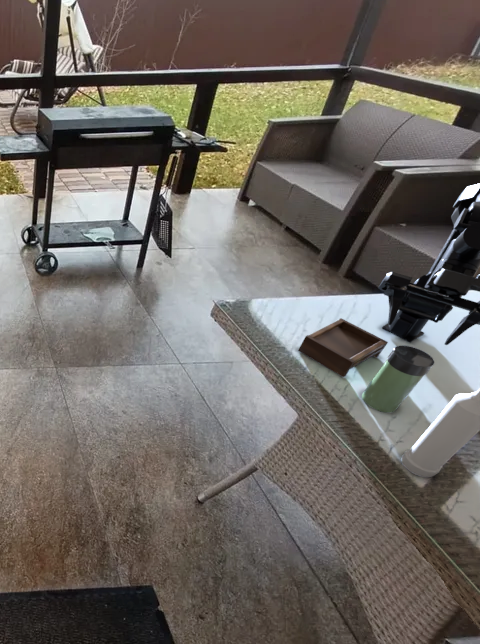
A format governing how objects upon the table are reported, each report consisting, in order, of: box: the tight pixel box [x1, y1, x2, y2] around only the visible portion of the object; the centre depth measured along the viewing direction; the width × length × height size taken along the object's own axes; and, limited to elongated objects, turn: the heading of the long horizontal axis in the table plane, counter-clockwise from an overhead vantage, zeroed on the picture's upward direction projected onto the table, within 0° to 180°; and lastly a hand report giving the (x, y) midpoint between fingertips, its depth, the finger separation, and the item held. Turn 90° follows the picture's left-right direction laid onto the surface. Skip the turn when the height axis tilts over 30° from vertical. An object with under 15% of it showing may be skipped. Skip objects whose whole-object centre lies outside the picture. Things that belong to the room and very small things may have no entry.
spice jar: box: [361, 344, 435, 414], centre depth 94 cm, size 6×6×13 cm
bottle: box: [400, 387, 480, 478], centre depth 78 cm, size 5×5×25 cm
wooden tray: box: [297, 318, 389, 378], centre depth 109 cm, size 14×10×4 cm
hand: (416, 334), depth 95 cm, fingers open, 9 cm apart
